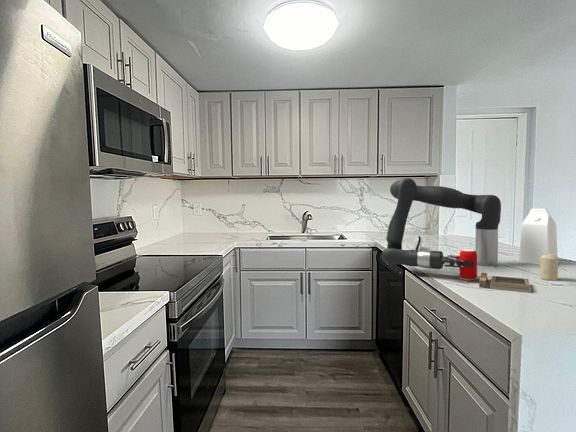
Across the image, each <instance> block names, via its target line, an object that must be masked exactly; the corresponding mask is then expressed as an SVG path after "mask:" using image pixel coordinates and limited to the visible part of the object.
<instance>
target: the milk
mask: <svg viewBox="0 0 576 432" xmlns="http://www.w3.org/2000/svg"><path fill="white" fill-rule="evenodd" d="M520 229H521V231H520V241H519V256H518V262H519V263H525V264H531V265H538V266H540V257H541V256H542V255H545V254H547V253H551V254H552V255H553V254H554V255H555V256H556V257H557V258H558V238H557V223H556V222H555V220H554V219H553V217H552V215H550V212H549V211H548V208H531V209H530V210H529V212H528V214H527V215H526V217H525V218H524V220H523V222H522V223H521V228H520ZM558 259H559V258H558Z"/></svg>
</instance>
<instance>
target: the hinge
mask: <svg viewBox="0 0 576 432" xmlns="http://www.w3.org/2000/svg"><path fill="white" fill-rule="evenodd" d="M423 242H424V240H423V237H422V236H420V235H417V234H414V235H412V237H411V240H410V243H408V244H407V245H406V248H407V250H420V251H421V248H422V244H423Z"/></svg>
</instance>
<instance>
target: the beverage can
mask: <svg viewBox="0 0 576 432" xmlns="http://www.w3.org/2000/svg"><path fill="white" fill-rule="evenodd" d="M459 256H460V260H463V262H464V261H474V262H475V266H474V267H466V266H463V267H461V268H459V279H461V280H463V281H470V282H471V281H475V280H476V279H477V278H478V265H477V253H476V249H472V248H463V249H461V250H460V252H459Z"/></svg>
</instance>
